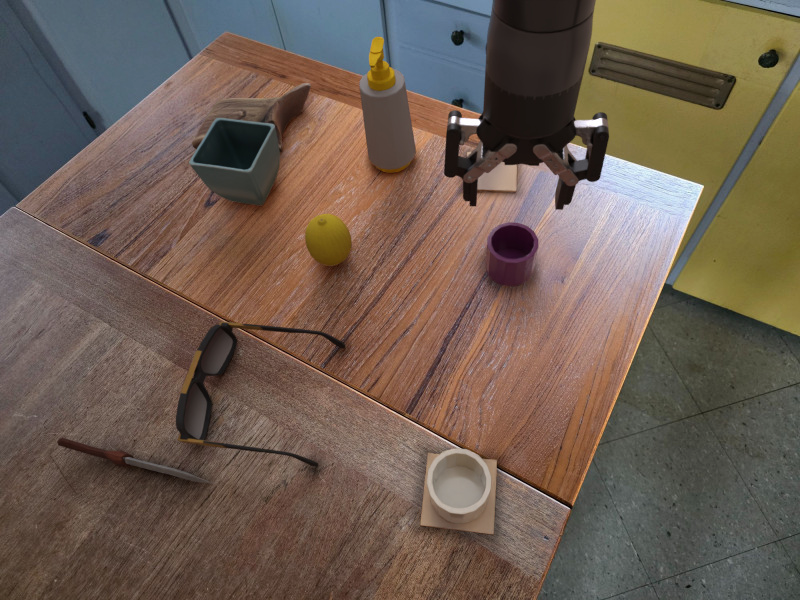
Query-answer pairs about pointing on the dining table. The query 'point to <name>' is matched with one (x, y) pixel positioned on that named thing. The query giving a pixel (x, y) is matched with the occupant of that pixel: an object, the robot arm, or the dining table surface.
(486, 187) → the far coaster
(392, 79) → the soap bottle
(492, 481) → the near coaster
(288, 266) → the dining table surface
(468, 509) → the cream dish
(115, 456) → the knife
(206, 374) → the sunglasses
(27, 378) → the dining table surface
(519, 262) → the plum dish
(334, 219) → the lemon
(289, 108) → the fragment
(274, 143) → the flower pot
